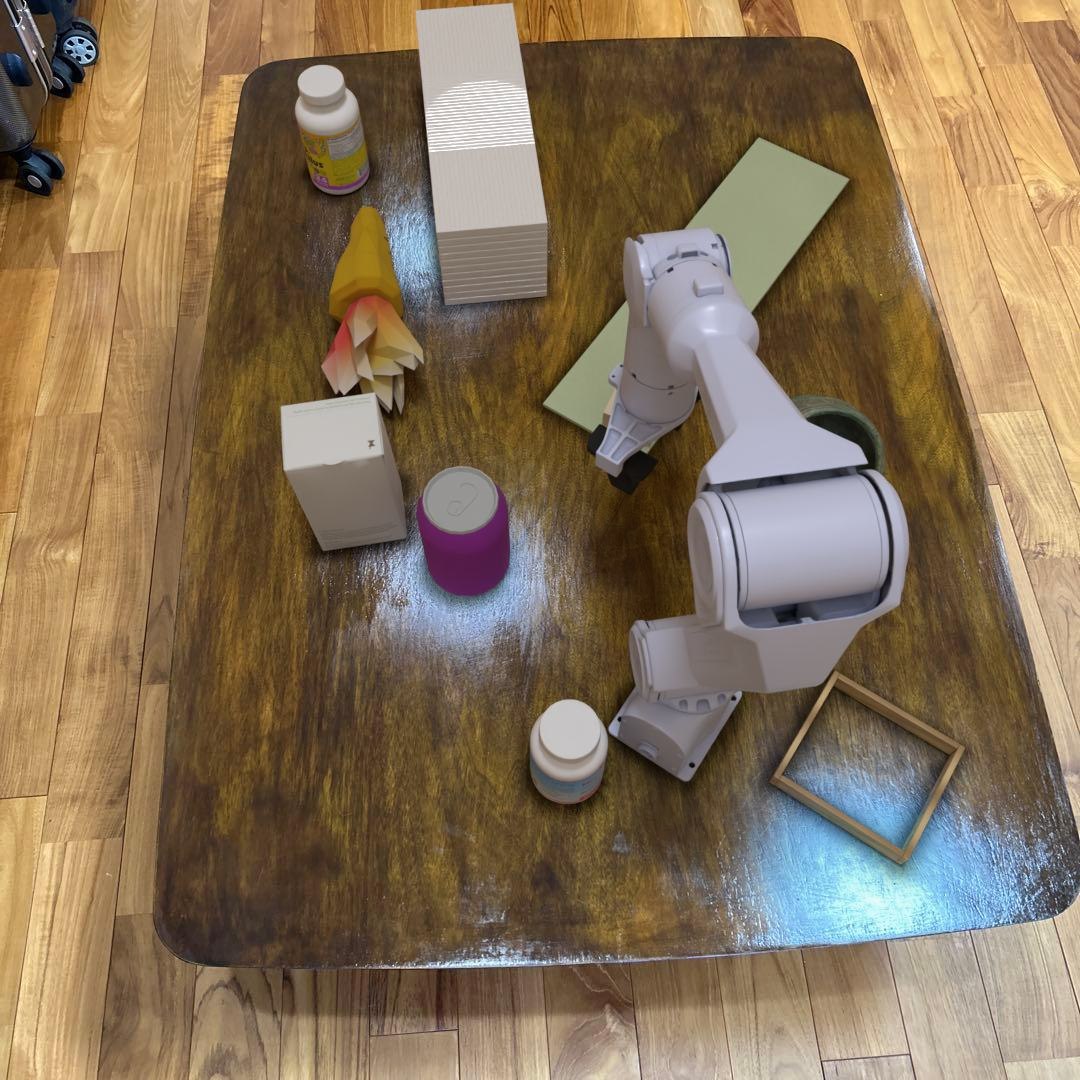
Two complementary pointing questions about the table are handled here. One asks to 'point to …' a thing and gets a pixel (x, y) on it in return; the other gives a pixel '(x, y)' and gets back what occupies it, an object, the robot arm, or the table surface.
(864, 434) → the dark green rounded piece
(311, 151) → the supplement bottle
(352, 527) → the cosmetic box
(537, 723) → the pill bottle
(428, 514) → the beverage can
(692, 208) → the table surface
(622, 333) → the runner
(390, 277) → the torch
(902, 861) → the wooden frame
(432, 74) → the stack of papers
